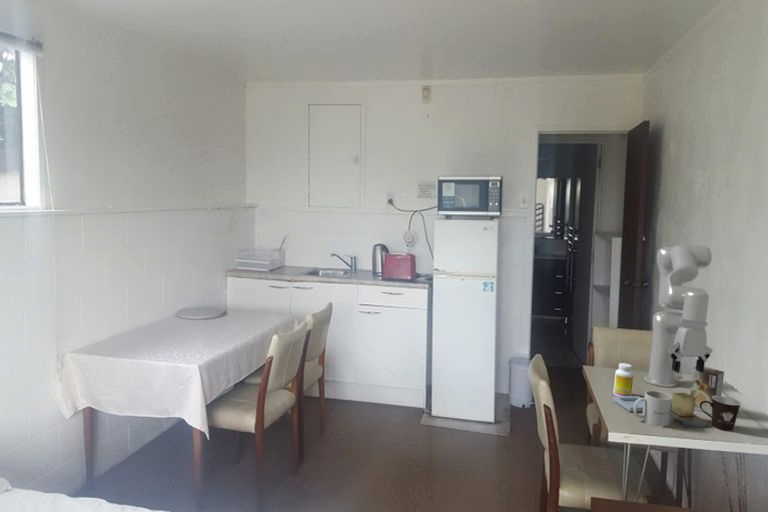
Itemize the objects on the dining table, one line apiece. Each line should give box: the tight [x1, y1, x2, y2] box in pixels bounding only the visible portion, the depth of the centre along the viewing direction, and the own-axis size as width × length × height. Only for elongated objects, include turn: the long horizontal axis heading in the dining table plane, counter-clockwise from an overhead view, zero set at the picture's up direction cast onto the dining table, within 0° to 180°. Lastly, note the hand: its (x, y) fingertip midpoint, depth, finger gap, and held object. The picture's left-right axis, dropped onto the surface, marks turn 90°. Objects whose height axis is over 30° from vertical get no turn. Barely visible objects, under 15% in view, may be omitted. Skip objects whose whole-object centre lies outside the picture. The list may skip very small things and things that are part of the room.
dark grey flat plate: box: [669, 401, 708, 428], centre depth 203 cm, size 9×22×2 cm, turn 9°
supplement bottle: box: [612, 362, 634, 397], centre depth 220 cm, size 7×7×13 cm
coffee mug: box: [700, 395, 741, 432], centre depth 195 cm, size 12×9×10 cm
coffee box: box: [689, 366, 725, 416], centre depth 209 cm, size 9×6×16 cm
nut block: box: [671, 392, 696, 418], centre depth 199 cm, size 5×5×9 cm
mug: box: [633, 390, 673, 428], centre depth 196 cm, size 12×9×10 cm
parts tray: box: [612, 395, 644, 413], centre depth 209 cm, size 11×11×2 cm
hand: (687, 371), depth 197 cm, fingers open, 9 cm apart
